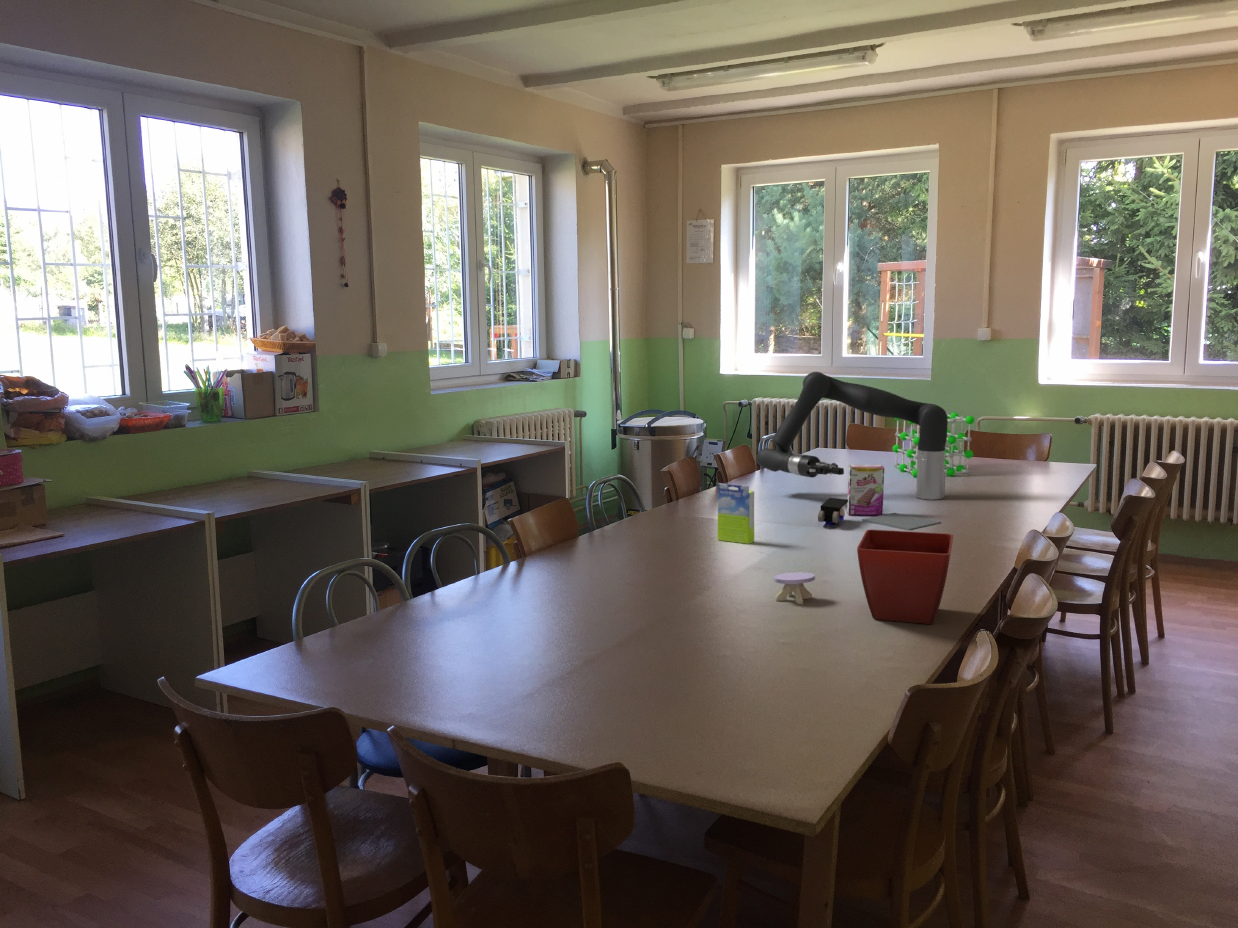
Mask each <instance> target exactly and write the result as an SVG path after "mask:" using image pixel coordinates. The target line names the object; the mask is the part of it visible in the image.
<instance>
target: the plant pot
mask: <svg viewBox="0 0 1238 928" xmlns="http://www.w3.org/2000/svg"><path fill="white" fill-rule="evenodd" d="M953 539H954V534H952V533H940V532H938V533H937V532H923V531H908V530H906V531H904V530H903V531H902V530H889V529H888V530H886V529H883V530H882V529H866V530H865V532H864V534H863V536H862V538H861V539H860V542H859V543H858V546H857V548H856V550H857V559H858V560H857V561H858V567H859V573H860V577H861V582H862V586H863V590H864V595H865V598H866V601H867V604H868V608H869V611H870V615H871V617H872V619H874V620H878V621H879V620H880V621H892V622H902V623H914V624H915V623H916V624H927V625H930V624H934V622H935V619H936V617H937V614H938V612H939V608H940V604H941V601H942V598H943V594H944V591H945V585H946V581H947V577H948V572H949V571H948V570H949V565H950V561H951V560H950V558H951V553H952V546H953V542H954V541H953Z"/></svg>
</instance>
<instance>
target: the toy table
mask: <svg viewBox="0 0 1238 928" xmlns="http://www.w3.org/2000/svg"><path fill="white" fill-rule="evenodd" d="M815 580H816V574H815V573H811V572H802V571H800V572H799V571H798V572H796V571H795V572H786V573H784V572H783V573H779V574H777V575H775V576H774V577H773V581H774V582H775V583H778V584H782V585H783V584H784V585H783V587H782V589H781V590H780V591H779V592H778V593H776V595H775V597H774V601H776V602H779V601H781V602H783V601H787V598H789V597H793V594H794V598H795V603H797V604H798V605H803V604H804V600H805V599H812V598H813V594H812V593H811V591H809V590H808V589H807V588H806V586H805V584H806V583H812V582H813V581H815Z"/></svg>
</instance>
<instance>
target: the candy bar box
mask: <svg viewBox="0 0 1238 928" xmlns="http://www.w3.org/2000/svg"><path fill="white" fill-rule="evenodd" d="M847 468H848V470H847V471H848V472H847V474H848V476H847V499H848V502H847V503H846V513H847V516H857V517H858V516H863V517H864V516H867V517H868V516H869V517H870V516H871V517H876V516H881V515H883V513H884V511H883V509H884V485H885V482H884V481H885V466H883V465H882V464H848V467H847Z"/></svg>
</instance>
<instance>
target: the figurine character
mask: <svg viewBox="0 0 1238 928" xmlns="http://www.w3.org/2000/svg"><path fill="white" fill-rule="evenodd" d="M847 502H848V499H846V498H837V497H828V499H826V500H825V501H824V502H823V503H822V504H820V510H819V511H818V515H817V521H818V522H819V523H824V524H823V526H822V527H823V528H826V527H827V526H830V527H831V528H832V529H835V528H836V526H837V524H839V523H840V522H842V521H844V520H845V519H844V518H845V516H846V513H845V510H844V508H843V507H844V506H845V505H847Z"/></svg>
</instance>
